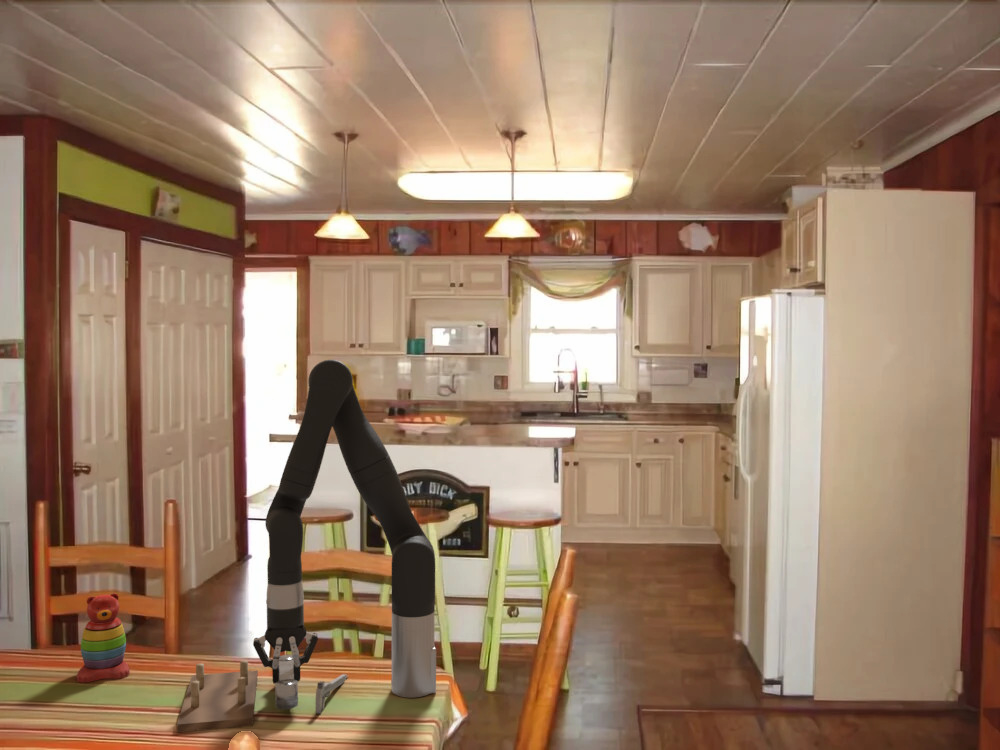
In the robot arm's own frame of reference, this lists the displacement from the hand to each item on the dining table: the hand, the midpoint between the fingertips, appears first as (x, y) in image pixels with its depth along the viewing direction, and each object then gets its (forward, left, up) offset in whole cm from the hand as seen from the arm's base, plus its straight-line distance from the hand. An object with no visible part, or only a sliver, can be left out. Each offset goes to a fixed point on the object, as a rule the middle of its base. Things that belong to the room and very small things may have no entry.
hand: (286, 683), depth 184 cm
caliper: (-10, 0, -4) cm, 10 cm away
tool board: (+13, -1, -3) cm, 14 cm away
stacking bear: (+40, -24, -4) cm, 47 cm away
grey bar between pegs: (0, 0, -2) cm, 2 cm away
